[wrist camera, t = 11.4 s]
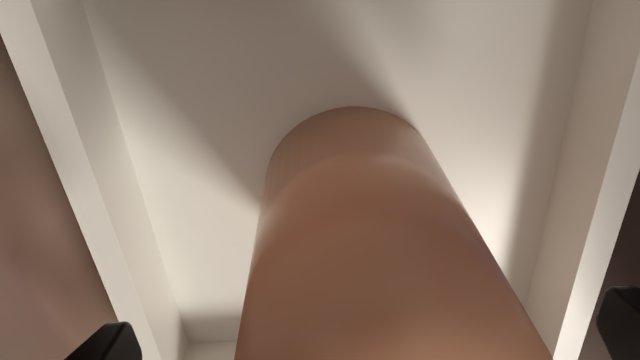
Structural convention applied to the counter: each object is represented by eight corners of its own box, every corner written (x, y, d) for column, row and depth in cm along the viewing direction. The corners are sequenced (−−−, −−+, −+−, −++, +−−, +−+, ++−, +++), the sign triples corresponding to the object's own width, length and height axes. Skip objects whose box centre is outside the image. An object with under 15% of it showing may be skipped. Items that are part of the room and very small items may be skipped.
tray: (637, -106, 10) (732, -118, 8) (534, 324, 16) (569, 383, 14) (39, -57, 10) (-37, -57, 8) (176, 349, 17) (155, 411, 14)
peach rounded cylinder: (442, 98, 11) (596, 282, 5) (432, 249, 14) (530, 494, 8) (253, 113, 12) (193, 311, 5) (276, 261, 14) (251, 512, 8)
